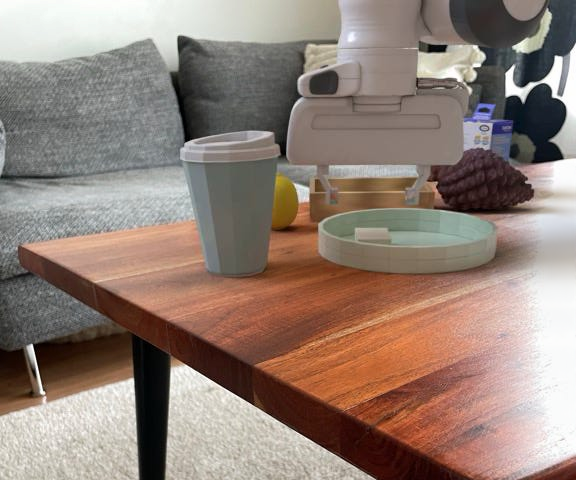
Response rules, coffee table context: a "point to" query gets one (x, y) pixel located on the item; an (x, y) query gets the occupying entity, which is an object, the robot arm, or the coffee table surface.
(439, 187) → the pine cone
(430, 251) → the round tray
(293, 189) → the lemon
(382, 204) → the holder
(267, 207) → the disposable coffee cup
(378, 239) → the block
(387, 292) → the coffee table surface
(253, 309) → the coffee table surface
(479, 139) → the ink cartridge box
